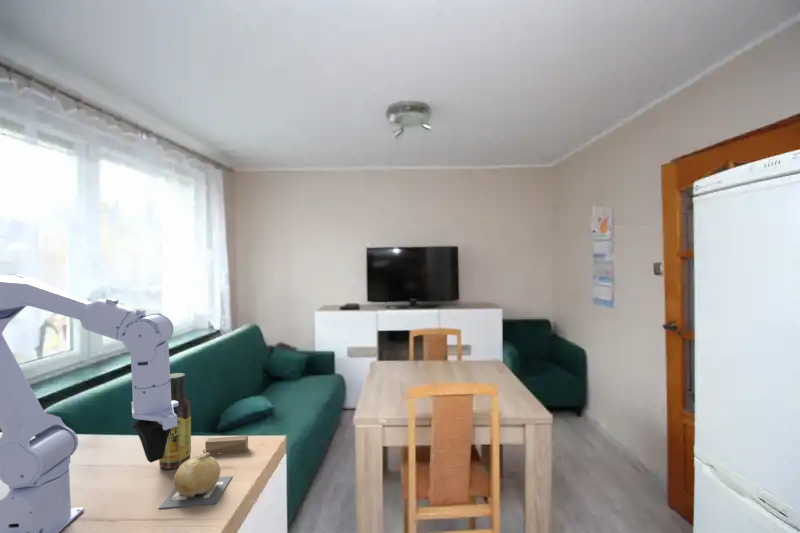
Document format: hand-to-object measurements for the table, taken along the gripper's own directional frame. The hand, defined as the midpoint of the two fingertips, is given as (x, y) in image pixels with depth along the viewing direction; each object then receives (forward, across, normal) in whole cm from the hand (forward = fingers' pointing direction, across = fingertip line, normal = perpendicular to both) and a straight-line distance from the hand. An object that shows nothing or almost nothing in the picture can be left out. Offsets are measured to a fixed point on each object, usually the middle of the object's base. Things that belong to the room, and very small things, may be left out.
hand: (155, 459), depth 69 cm
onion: (+10, +1, -7) cm, 12 cm away
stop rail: (+10, +12, -19) cm, 24 cm away
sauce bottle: (+10, +16, -10) cm, 21 cm away
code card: (+10, +1, -7) cm, 12 cm away
